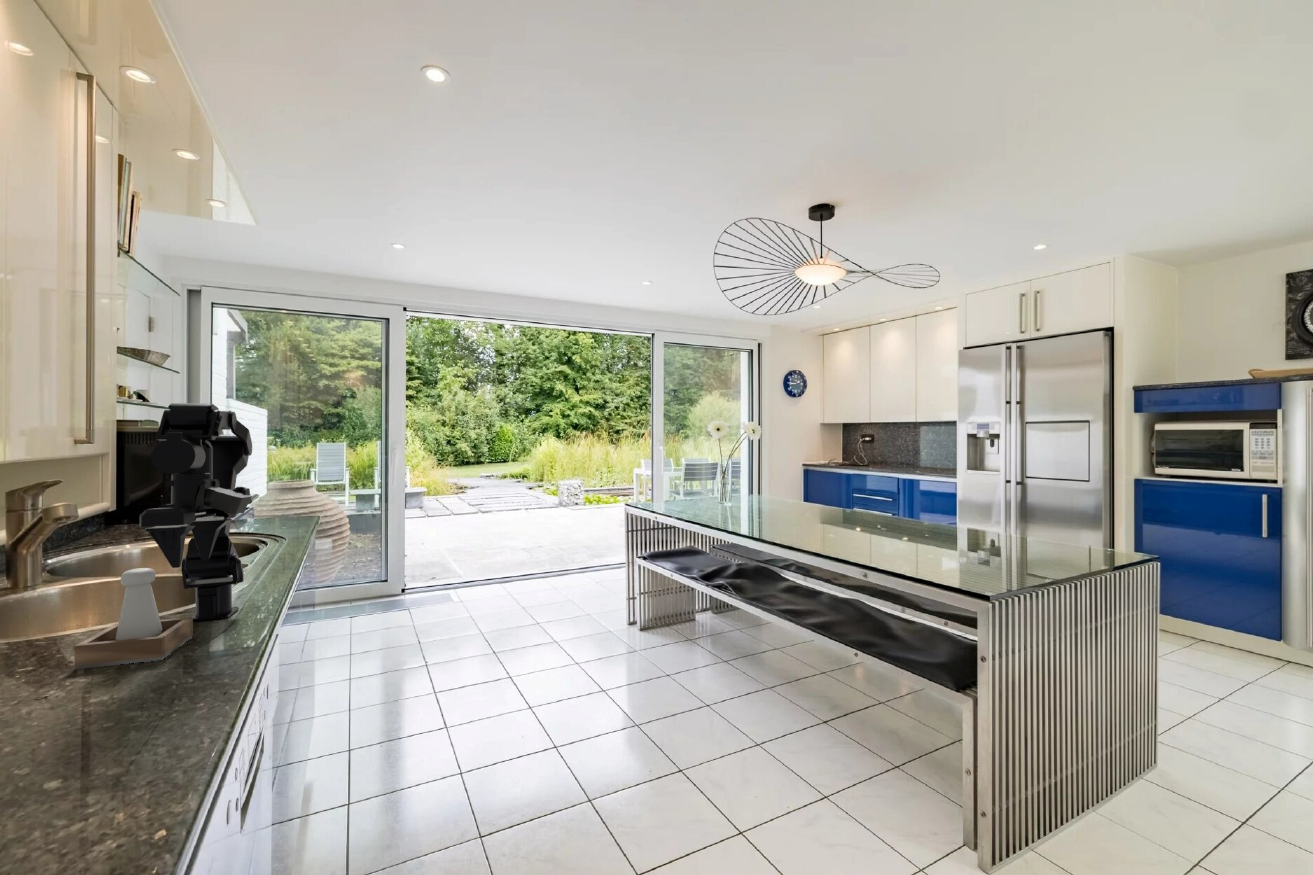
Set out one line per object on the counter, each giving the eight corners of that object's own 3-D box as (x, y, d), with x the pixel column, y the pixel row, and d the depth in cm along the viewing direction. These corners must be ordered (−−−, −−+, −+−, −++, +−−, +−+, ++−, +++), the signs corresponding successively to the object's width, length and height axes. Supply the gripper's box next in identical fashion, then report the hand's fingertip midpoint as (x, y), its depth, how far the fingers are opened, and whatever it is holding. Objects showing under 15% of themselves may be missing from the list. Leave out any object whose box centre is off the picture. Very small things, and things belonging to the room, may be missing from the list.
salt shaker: (169, 645, 98) (168, 567, 98) (126, 657, 93) (125, 575, 93) (151, 639, 101) (150, 564, 100) (108, 651, 95) (107, 571, 95)
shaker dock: (115, 644, 100) (115, 623, 100) (192, 637, 103) (192, 617, 103) (74, 669, 90) (74, 645, 90) (162, 660, 93) (161, 637, 93)
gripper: (217, 473, 96) (216, 569, 95) (266, 472, 114) (266, 553, 114) (137, 475, 94) (136, 573, 93) (201, 474, 112) (200, 556, 111)
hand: (191, 563), depth 103 cm, fingers open, 9 cm apart
